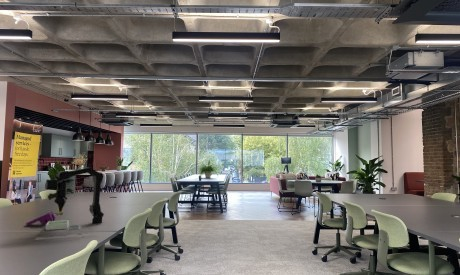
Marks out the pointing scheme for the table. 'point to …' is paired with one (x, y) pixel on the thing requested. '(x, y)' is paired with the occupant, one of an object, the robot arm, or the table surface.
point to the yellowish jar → (61, 211)
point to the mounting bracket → (43, 219)
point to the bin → (57, 225)
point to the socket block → (74, 227)
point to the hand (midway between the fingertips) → (60, 211)
